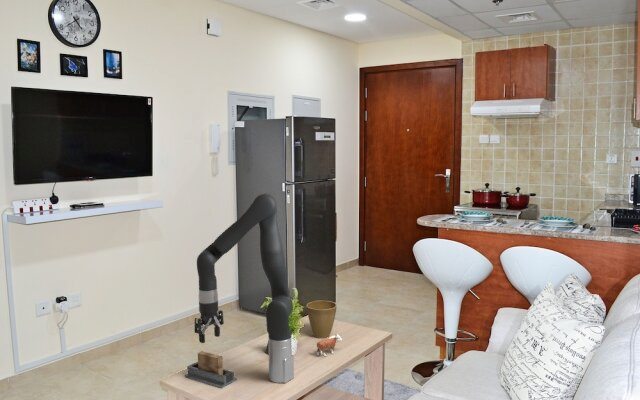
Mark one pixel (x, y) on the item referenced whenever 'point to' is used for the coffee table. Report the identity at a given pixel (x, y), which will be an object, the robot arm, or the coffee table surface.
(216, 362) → the door panel
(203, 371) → the bottom track
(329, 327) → the plant pot
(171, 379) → the coffee table surface
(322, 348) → the bull figurine
